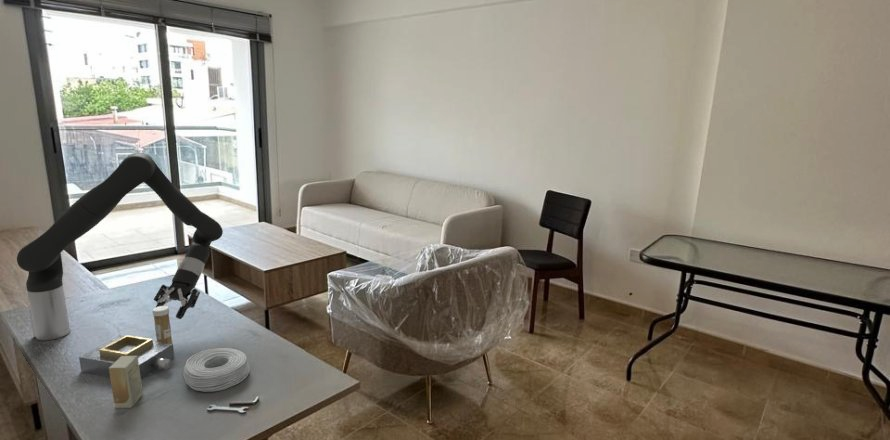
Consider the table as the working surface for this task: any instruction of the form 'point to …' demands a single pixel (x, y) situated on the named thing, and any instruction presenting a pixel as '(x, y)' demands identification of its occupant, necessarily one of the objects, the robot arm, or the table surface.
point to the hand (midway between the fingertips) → (167, 316)
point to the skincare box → (125, 381)
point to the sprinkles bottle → (162, 324)
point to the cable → (215, 369)
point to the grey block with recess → (146, 349)
